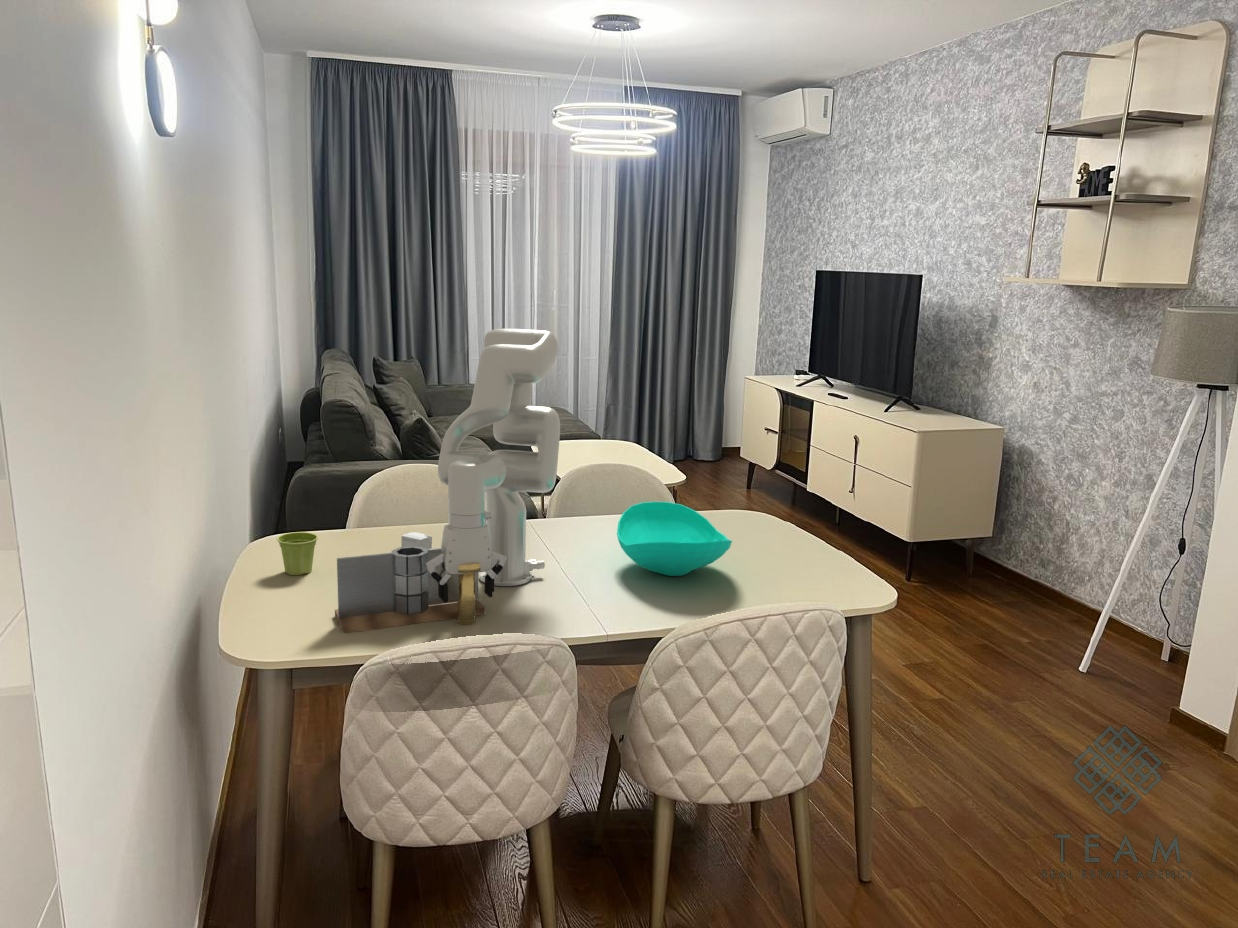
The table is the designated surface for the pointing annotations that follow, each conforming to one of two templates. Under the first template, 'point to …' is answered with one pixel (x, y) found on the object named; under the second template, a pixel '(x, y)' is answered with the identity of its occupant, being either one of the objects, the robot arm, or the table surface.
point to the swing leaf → (430, 583)
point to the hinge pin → (467, 593)
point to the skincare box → (416, 540)
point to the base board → (402, 617)
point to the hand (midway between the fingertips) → (466, 597)
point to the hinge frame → (380, 583)
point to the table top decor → (669, 538)
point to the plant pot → (297, 551)
